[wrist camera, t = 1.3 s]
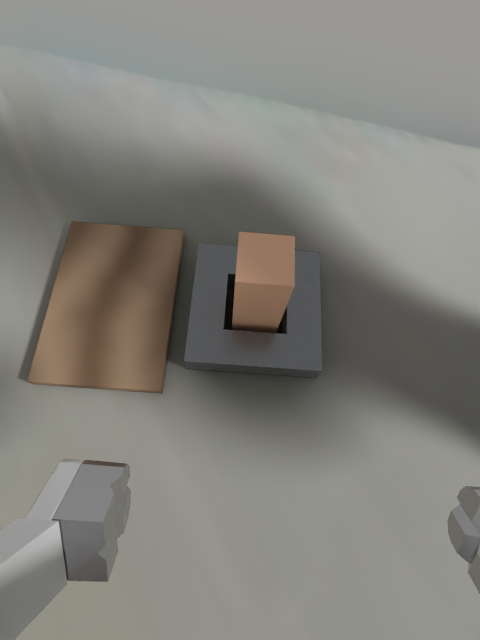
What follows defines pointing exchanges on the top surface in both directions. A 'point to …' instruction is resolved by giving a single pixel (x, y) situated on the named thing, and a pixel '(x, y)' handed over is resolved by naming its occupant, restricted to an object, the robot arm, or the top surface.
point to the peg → (263, 281)
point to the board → (110, 309)
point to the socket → (245, 346)
